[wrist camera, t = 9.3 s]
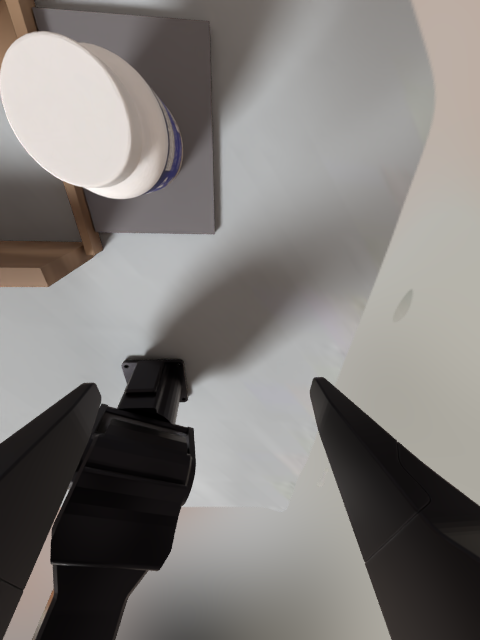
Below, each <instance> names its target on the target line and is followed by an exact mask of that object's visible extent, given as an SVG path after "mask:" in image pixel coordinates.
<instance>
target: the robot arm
mask: <svg viewBox="0 0 480 640" xmlns="http://www.w3.org/2000/svg"><path fill="white" fill-rule="evenodd" d="M179 364H180V365H179ZM127 365H128V366H127ZM122 369H123V372H124V376H125V379H126V382H127V386H126V389H125V392H124V394H123V396H122V398H121V401H120V403H119V405H118V407H117V409H116V408H113V407H109V406H108V405H106V404H101V406H100V403H101V395H100V392H99V390H98V388H97V385H96V384H95V383H83V384H81V385H80V386H79V387H77V388H76V389H74V390H73V391H72V392H70V393H69V394H68V395H66V396H65V397H64V398H62V399H61V400H59V401H58V402H57V403H55V404H54V405H53V406H51V407H50V408H48V409H47V410H46V411H44V412H43V413H42V414H40V415H39V416H38V417H36V418H35V419H33V420H32V421H31V422H29V423H28V424H27V425H25V426H24V427H22V428H21V429H20V430H18V431H17V432H16V433H14V434H13V435H12V436H10V437H9V438H7V439H6V440H5V441H3V442H2V443H1V444H0V640H3V637H4V635H5V632H6V630H7V628H8V626H9V623H10V621H11V619H12V617H13V614H14V612H15V610H16V607H17V605H18V602H19V600H20V598H21V596H22V594H23V590H24V588H25V586H26V583H27V581H28V579H29V577H30V575H31V572H32V570H33V568H34V565H35V563H36V561H37V558H38V556H39V554H40V551H41V549H42V547H43V544H44V542H45V540H46V538H47V535H48V533H49V531H50V528H51V526H52V524H53V522H54V519H55V517H56V515H57V512H58V510H59V508H60V505H61V503H62V501H63V498H64V496H65V494H66V492H67V489H70V490H69V492H68V495H67V497H66V499H65V501H64V503H63V505H62V507H61V510H60V512H59V514H58V516H57V518H56V520H55V522H54V525H53V527H52V539H51V559H50V561H51V564H53V581H54V589H53V591H52V593H51V596H50V598H49V600H48V603H47V605H46V607H45V610H44V612H43V614H42V617H41V619H40V622H39V624H38V627H37V629H36V631H35V634H34V636H33V638H32V640H115V639H116V636H117V632H118V629H119V626H120V622H121V619H122V615H123V612H124V609H125V606H126V603H127V600H128V597H129V596H130V594H131V593H132V591H133V590H134V589H135V587H136V586H137V585H138V584H139V582H140V581H141V580H142V578H143V577H144V575H145V574H146V573H147V572H148V571H149V570H151V571H158V570H160V568H161V567H162V565H163V564H164V562H165V560H166V559H167V557H168V555H169V554H170V552H171V549H172V543H173V539H174V533H175V529H176V525H177V520H178V516H179V513H180V509H181V506H183V505H184V504H185V502H186V500H187V498H188V496H189V494H190V491H191V488H192V485H193V480H194V475H195V468H196V459H195V444H194V429H193V428H191V427H183V426H180V425H176V424H175V422H176V417H177V411H178V406H179V402H186V401H187V400H188V391H187V383H186V375H185V367H184V362H183V361H182V360H179V359H176V360H126V361H124V362H123V363H122ZM310 397H311V402H312V406H313V410H314V414H315V419H316V423H317V427H318V431H319V433H320V437H321V440H322V442H323V445H324V448H325V451H326V454H327V457H328V459H329V462H330V465H331V468H332V471H333V474H334V477H335V479H336V482H337V485H338V488H339V490H340V493H341V496H342V499H343V502H344V505H345V508H346V511H347V513H348V516H349V519H350V522H351V525H352V528H353V531H354V533H355V536H356V539H357V542H358V545H359V547H360V551H361V553H362V556H363V559H364V561H365V562H366V563H365V565H366V568H367V571H368V574H369V576H370V579H371V582H372V585H373V588H374V591H375V593H376V597H377V599H378V602H379V605H380V607H381V611H382V613H383V616H384V619H385V622H386V625H387V628H388V631H389V634H390V636H391V639H392V640H480V506H479V505H478V504H476V503H475V502H473V501H472V500H471V499H470V498H468V497H467V496H466V495H464V494H463V493H462V492H460V491H459V490H458V489H456V488H455V487H454V486H453V485H451V484H450V483H449V482H447V481H446V480H445V479H443V478H442V477H441V476H439V475H438V474H437V473H436V472H434V471H433V470H432V469H430V468H429V467H428V466H427V465H425V464H424V463H423V462H422V461H420V460H419V459H418V458H417V457H416V456H414V455H413V454H412V453H411V452H410V451H408V450H407V449H406V448H405V447H404V446H403V445H402V444H400V443H399V442H397V440H395V439H394V438H393V437H392V436H391V435H390V434H389V433H387V432H386V431H385V430H384V429H383V428H382V427H381V426H379V425H378V424H377V423H376V422H375V421H374V420H373V419H371V418H370V417H369V416H368V415H367V414H366V413H364V412H363V411H362V410H361V409H360V408H359V407H357V406H356V405H355V404H354V403H353V402H352V401H351V400H349V399H348V398H347V397H346V396H345V395H344V394H343V393H341V392H340V391H339V390H338V389H337V388H336V387H334V386H333V385H332V384H331V383H330V382H329V381H327V380H326V379H325V378H323V377H315V378H314V379H313V381H312V385H311V388H310ZM99 407H100V408H99Z"/></svg>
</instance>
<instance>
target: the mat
mask: <svg viewBox="0 0 480 640" xmlns="http://www.w3.org/2000/svg"><path fill="white" fill-rule="evenodd" d="M32 9H33V13H34V17H35V20H36V24H37V27H38V31H47V32H53V33H57V34H61V35H63V36H66V37H68V38H70V39H72V40H75V41H76V42H79V43H88V44H93V45H96V46H99V47H102V48H104V49H107V50H108V51H110V52H112V53H114V54H116V55H118V56H119V57H121V58H122V59H123V60H125V61H126V62H127V63H128V64H129V65H131V66H132V67H133V68H134V69H135V70H136V71H137V72H138V73H139V74H140V75H141V76H142V78H143V79H144V80H145V81H146V82H147V84H148V85H149V86H150V87H151V88H152V90H153V91H154V92H155V93H156V95H157V96H158V97H159V98H160V100H161V101H162V102H163V103H164V104H165V106H166V107H167V108H168V109H169V111H170V112H171V114H172V115H173V117H174V119H175V121H176V123H177V125H178V127H179V130H180V133H181V137H182V143H183V159H182V164H181V167H180V170H179V172H178V174H177V176H176V177H175V179H174V180H173V181H172V182H171V183H170V184H169V185H167V186H166V187H164V188H162V189H160V190H157V191H153V192H150V193H147V194H144V195H141V196H138V197H134V198H128V199H113V198H108V197H104V196H101V195H98V194H96V193H93V192H91V191H90V190H88V189H86V188H84V187H83V189H84V193H85V196H86V200H87V203H88V207H89V211H90V214H91V218H92V221H93V225H94V228H95V232H115V233H172V234H215V217H214V178H213V138H212V99H211V59H210V25H209V21H200V20H188V19H175V18H163V17H150V16H138V15H125V14H113V13H100V12H87V11H75V10H62V9H50V8H37V7H32Z"/></svg>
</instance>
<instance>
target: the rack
mask: <svg viewBox="0 0 480 640" xmlns="http://www.w3.org/2000/svg"><path fill="white" fill-rule="evenodd" d="M32 7H36V6H35V3H34V0H0V70H1V65H2V61H3V58H4V56H5V53H6V51H7V50H8V49H9V47H10V46H11V44H12V43H13V42H14V41H16V40H17V39H18V38H20V37H21V36H23V35H25V34H28V33H32V32H38V27H37V24H36V20H35V17H34V13H33V9H32ZM63 183H64V186H65V189H66V193H67V196H68V199H69V202H70V205H71V208H72V211H73V215H74V218H75V221H76V224H77V227H78V230H79V233H80V236H81V240H82V242H51V241H0V287H49V286H51V285H52V284H54V283H55V282H57V281H58V280H60V279H61V278H63V277H64V276H66V275H67V274H69V273H70V272H72V271H73V270H75V269H76V268H78V267H79V266H81V265H82V264H84V263H85V262H87V261H88V260H90V259H92V258H93V257H94V256H93V255H96V254H97V253H99V252H101V251H102V250H103V247H102V244H101V240H100V237H99V233H98V232H95V228H94V225H93V221H92V218H91V214H90V211H89V207H88V203H87V200H86V196H85V193H84V189H83V187H79V186H76V185H72V184H69V183H67V182H65V181H63Z"/></svg>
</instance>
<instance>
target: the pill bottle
mask: <svg viewBox="0 0 480 640" xmlns="http://www.w3.org/2000/svg"><path fill="white" fill-rule="evenodd" d="M0 93H1V98H2V103H3V106H4V110H5V113H6V116H7V119H8V121H9V123H10V126H11V127H12V129H13V131H14V133H15V135H16V137H17V138H18V140H19V141H20V143H21V144H22V146H23V147H24V148H25V150H26V151H27V152H28V153H29V154H30V155H31V157H32V158H33V159H34V160H35V161H36V162H37V163H38V164H39V165H40V166H42V167H43V168H44V169H45V170H46V171H48V172H49V173H50V174H52V175H54V176H55V177H57V178H59V179H60V180H62V181H65V182H67V183H69V184H72V185H76V186H79V187H84V188H86V189H88V190H90V191H91V192H93V193H96V194H98V195H101V196H104V197H108V198H113V199H128V198H134V197H138V196H141V195H144V194H147V193H150V192H153V191H157V190H160V189H162V188H164V187H166V186H167V185H169V184H170V183H171V182H172V181H173V180H174V179H175V177H176V176H177V174H178V172H179V170H180V167H181V164H182V159H183V143H182V137H181V133H180V130H179V127H178V125H177V123H176V121H175V119H174V117H173V115H172V114H171V112H170V111H169V109H168V108H167V107H166V106H165V104H164V103H163V102H162V101H161V100H160V98H159V97H158V96H157V95H156V93H155V92H154V91H153V90H152V88H151V87H150V86H149V85H148V84H147V82H146V81H145V80H144V79H143V78H142V76H141V75H140V74H139V73H138V72H137V71H136V70H135V69H134V68H133V67H132V66H131V65H129V64H128V63H127V62H126V61H125V60H123V59H122V58H121V57H119V56H118V55H116V54H114V53H112V52H110V51H108V50H107V49H104V48H102V47H99V46H96V45H93V44H88V43H79V42H76V41H75V40H72V39H70V38H68V37H66V36H63V35H61V34H57V33H53V32H47V31H38V32H32V33H28V34H25V35H23V36H21V37H20V38H18V39H17V40H16V41H14V42H13V43H12V44H11V46H10V47H9V49H8V50H7V51H6V53H5V56H4V58H3V61H2V65H1V70H0Z"/></svg>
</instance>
